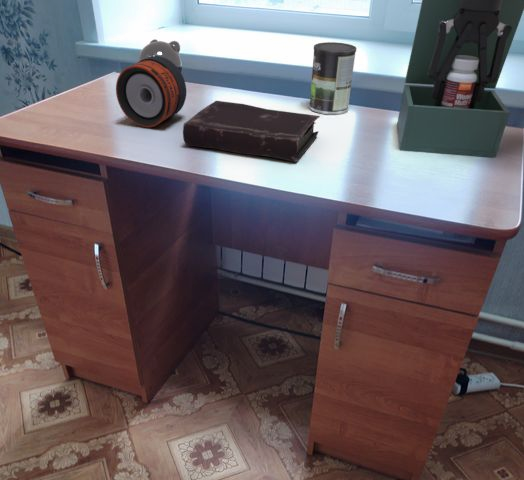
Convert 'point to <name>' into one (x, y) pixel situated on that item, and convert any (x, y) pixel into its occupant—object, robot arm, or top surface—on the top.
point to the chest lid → (445, 8)
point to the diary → (251, 130)
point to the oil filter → (151, 91)
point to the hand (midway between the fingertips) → (451, 116)
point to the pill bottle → (460, 82)
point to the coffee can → (331, 77)
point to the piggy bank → (163, 51)
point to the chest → (450, 124)
